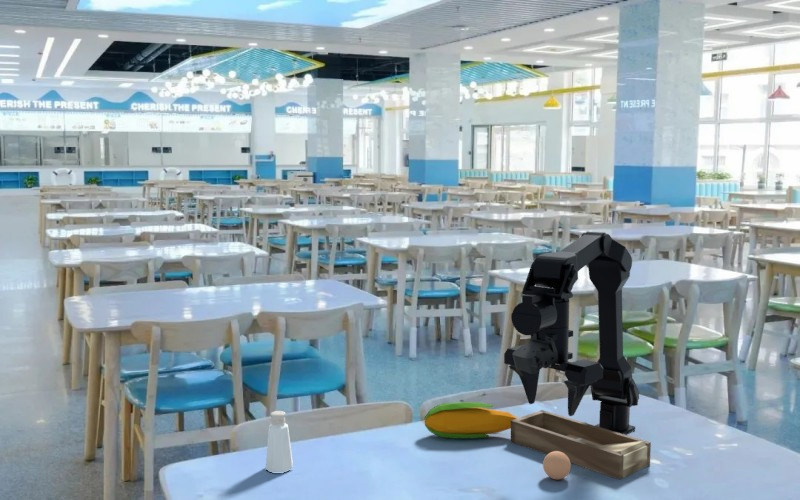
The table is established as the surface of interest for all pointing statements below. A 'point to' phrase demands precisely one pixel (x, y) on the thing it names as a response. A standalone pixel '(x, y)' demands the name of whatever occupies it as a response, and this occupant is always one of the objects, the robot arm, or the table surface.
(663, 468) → the table surface
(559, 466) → the ball
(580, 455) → the brown wooden open box
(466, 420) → the corn
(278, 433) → the pepper shaker
